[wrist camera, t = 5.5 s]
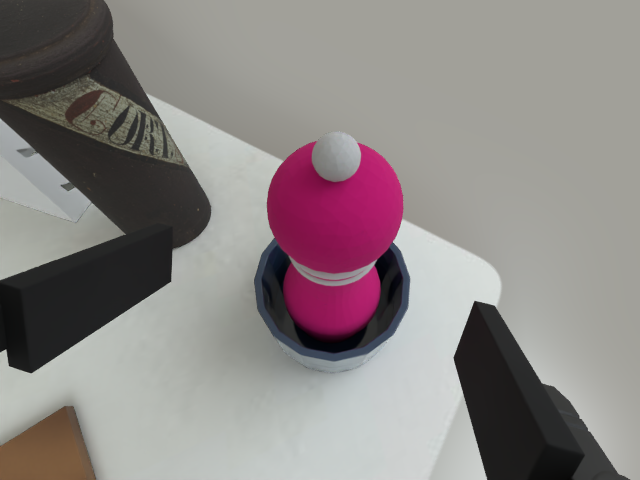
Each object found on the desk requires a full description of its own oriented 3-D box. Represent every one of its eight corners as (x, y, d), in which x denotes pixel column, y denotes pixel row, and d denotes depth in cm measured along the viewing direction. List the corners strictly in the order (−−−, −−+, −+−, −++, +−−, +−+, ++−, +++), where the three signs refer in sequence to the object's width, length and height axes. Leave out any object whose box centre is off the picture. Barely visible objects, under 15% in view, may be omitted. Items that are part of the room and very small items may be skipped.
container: (208, 253, 32) (61, 55, 14) (113, 256, 32) (-149, 63, 14) (218, 179, 36) (112, -47, 18) (134, 182, 36) (-53, -41, 18)
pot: (417, 323, 29) (442, 298, 23) (314, 400, 26) (310, 396, 20) (344, 233, 33) (348, 191, 27) (248, 292, 30) (228, 261, 24)
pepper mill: (272, 316, 29) (184, 161, 11) (320, 253, 32) (312, 46, 14) (343, 368, 27) (373, 279, 9) (388, 296, 30) (481, 118, 12)
